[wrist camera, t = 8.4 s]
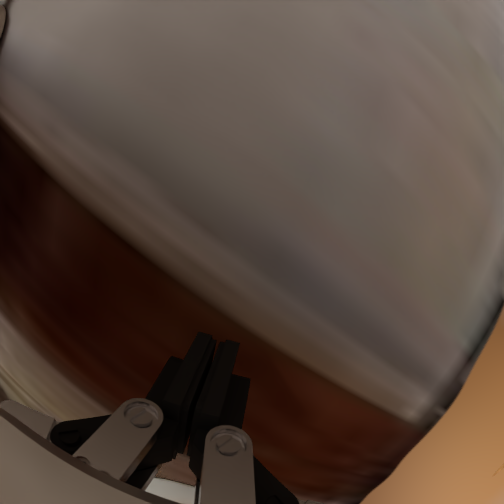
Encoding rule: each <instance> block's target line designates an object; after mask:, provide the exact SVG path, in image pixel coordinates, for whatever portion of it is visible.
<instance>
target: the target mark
mask: <svg viewBox="0 0 504 504" xmlns="http://www.w3.org/2000/svg"><path fill="white" fill-rule="evenodd" d="M145 491H146V492H149V493H151V494H154V495H157V496H160V497H163V498H166V499H169V500H172V501H175V502H178V503H181V504H194V493H195V487H194V486H191V485H187V484H183V483H180V482H176V481H171V480H167V479H162V478H156V477H154V478H153V480H152V481H151V483H150V484H149V486H148V487H147V488H146V490H145Z"/></svg>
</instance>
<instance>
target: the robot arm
mask: <svg viewBox="0 0 504 504" xmlns="http://www.w3.org/2000/svg"><path fill="white" fill-rule="evenodd" d="M5 17H6V11H5V7H4V6H2V5H0V38H1V35H2V32H3V28H4V23H5ZM239 344H240V343H238V342H234V341H230V340H226V342H225V343H224V342H220V344H219V346H218V349H217V352H216V354H215V357H214V360H213V355H214V350H215V345H216V340H213V339H212V335H209V334H205V333H202V332H198V334H197V336H196V338H195V340H194V341H193V343H192V345H191V347H190V349H189V351H188V353H187V355H186V356H185V358H184V360H182V359H179V358H176V357H173V356H171V357H170V358H169V360H168V361H167V363H166V365H165V366H164V368H163V370H162V371H161V373H160V375H159V376H158V378H157V380H156V382H155V383H154V385H153V387H152V388H151V390H150V392H149V393H148V395H147V397H146V398H145V399H142V398H134V399H130V400H127V401H126V402H124V403H123V404H122V405H121V406H120V407H119V408H118V409H117V410H116V411H115V412H114V413H113V414H112V415H106V416H100V417H93V418H86V419H79V420H71V421H64V422H57V421H56V420H55V418H53V417H50V416H48V415H45V414H43V413H40V412H38V411H36V410H33V409H31V408H29V407H27V406H24V405H22V404H20V403H18V402H16V401H13V400H5V401H3V402H1V403H0V504H181V503H178V502H175V501H172V500H169V499H166V498H163V497H160V496H157V495H154V494H151V493H149V492H146V491H145V490H146V488H147V487H148V486H149V484H150V483H151V481H152V480H153V478H154V477H155V475H156V474H157V472H158V471H159V469H160V468H161V465H162V463H166V462H169V461H171V460H172V458H173V459H175V458H176V455H177V453H181V454H183V452H184V450H185V447H186V444H187V441H188V439H189V436H190V439H189V445H188V452H187V456H190V462H189V467H190V469H191V470H192V472H193V473H194V474H195V476H196V482H195V493H194V504H324V503H319V502H315V501H311V500H307V501H302V500H298V499H297V498H296V497H295V496H294V495H293V494H292V493H291V492H290V491H289V490H288V489H287V488H286V487H285V486H284V485H282V484H281V483H280V482H279V481H278V480H277V479H276V478H275V477H274V476H273V475H272V474H271V473H270V472H269V471H268V470H267V469H266V468H265V467H264V466H263V465H262V464H261V463H260V462H259V461H258V460H257V459H256V458H255V457H254V456H253V447H252V441H251V439H250V437H249V436H248V434H246V433H245V432H244V431H243V430H241V429H242V424H243V418H244V413H245V408H246V402H247V397H248V391H249V385H250V378H245V377H241V376H237V375H234V374H232V370H233V366H234V363H235V359H236V355H237V352H238V348H239ZM212 360H213V362H212ZM211 364H212V365H211Z"/></svg>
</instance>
